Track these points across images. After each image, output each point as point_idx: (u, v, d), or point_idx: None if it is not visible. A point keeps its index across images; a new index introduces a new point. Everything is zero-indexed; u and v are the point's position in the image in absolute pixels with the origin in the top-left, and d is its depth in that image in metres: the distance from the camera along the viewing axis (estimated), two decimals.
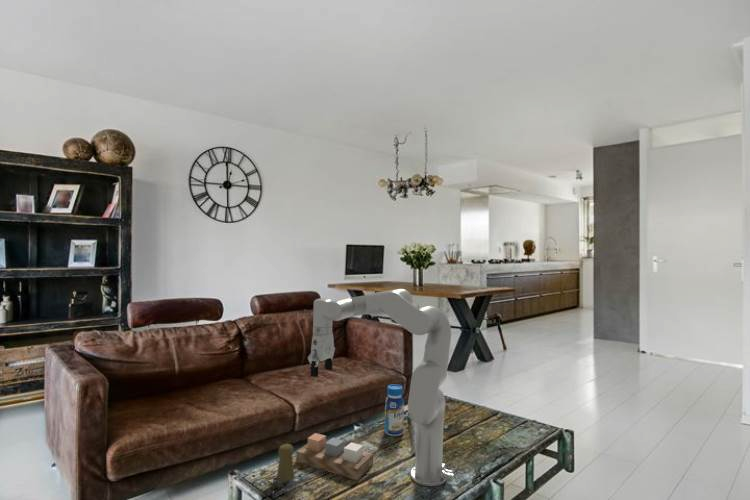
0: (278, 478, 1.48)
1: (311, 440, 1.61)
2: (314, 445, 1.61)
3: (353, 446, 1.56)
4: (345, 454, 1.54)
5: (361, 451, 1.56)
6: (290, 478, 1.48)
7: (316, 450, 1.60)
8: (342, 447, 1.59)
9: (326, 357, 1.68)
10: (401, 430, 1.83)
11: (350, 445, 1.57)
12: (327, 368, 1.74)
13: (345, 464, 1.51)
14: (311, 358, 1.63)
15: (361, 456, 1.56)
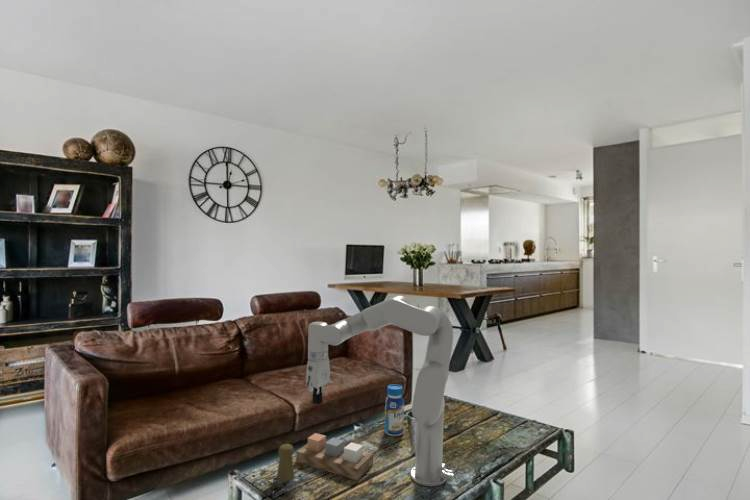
0: (278, 478, 1.48)
1: (311, 440, 1.61)
2: (314, 445, 1.61)
3: (353, 446, 1.56)
4: (345, 454, 1.54)
5: (361, 451, 1.56)
6: (290, 478, 1.48)
7: (316, 450, 1.60)
8: (342, 447, 1.59)
9: (322, 383, 1.60)
10: (401, 430, 1.83)
11: (350, 445, 1.57)
12: None
13: (345, 464, 1.51)
14: (311, 389, 1.58)
15: (361, 456, 1.56)
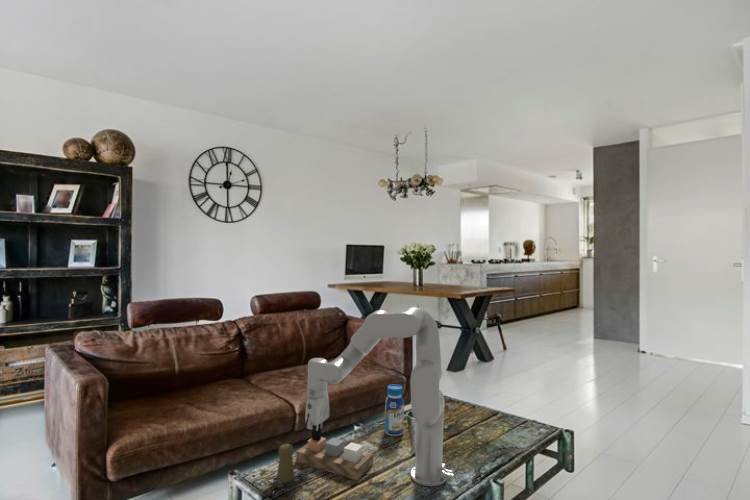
0: (278, 478, 1.48)
1: (311, 443, 1.61)
2: (314, 448, 1.61)
3: (353, 446, 1.56)
4: (345, 454, 1.54)
5: (361, 451, 1.56)
6: (290, 478, 1.48)
7: None
8: (342, 447, 1.59)
9: (321, 420, 1.61)
10: (401, 430, 1.83)
11: (350, 445, 1.57)
12: None
13: (345, 464, 1.51)
14: (311, 427, 1.59)
15: (361, 456, 1.56)
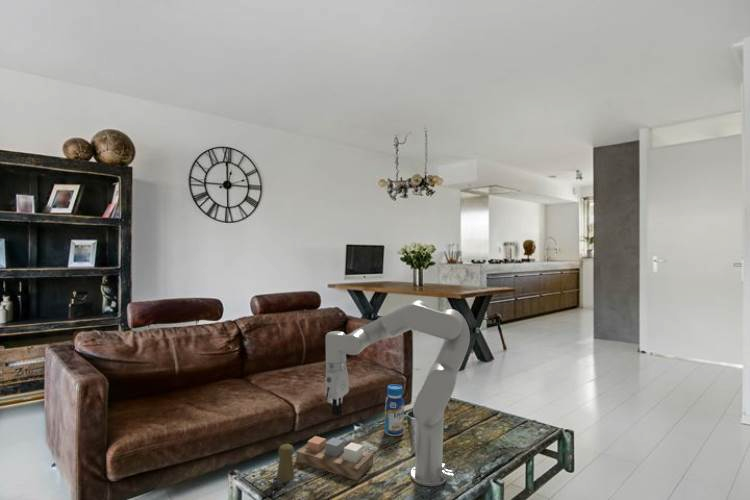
0: (278, 478, 1.48)
1: (311, 443, 1.61)
2: (314, 448, 1.61)
3: (353, 446, 1.56)
4: (345, 454, 1.54)
5: (361, 451, 1.56)
6: (290, 478, 1.48)
7: None
8: (342, 447, 1.59)
9: (341, 394, 1.57)
10: (401, 430, 1.83)
11: (350, 445, 1.57)
12: None
13: (345, 464, 1.51)
14: (331, 401, 1.55)
15: (361, 456, 1.56)
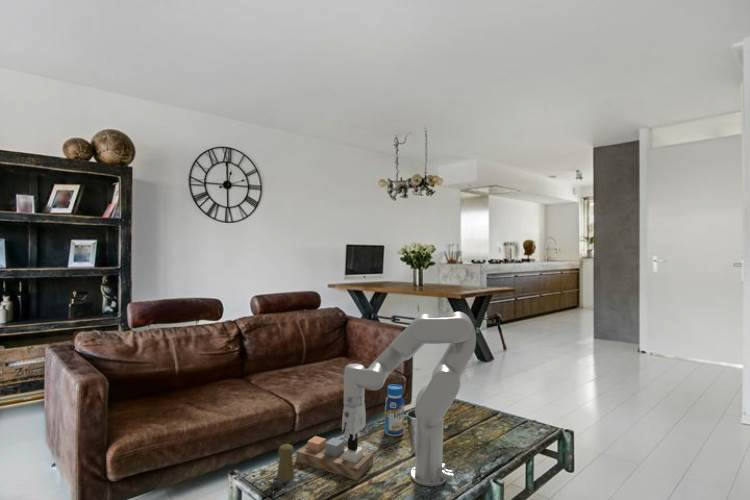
0: (278, 478, 1.48)
1: (311, 443, 1.61)
2: (314, 448, 1.61)
3: None
4: (345, 456, 1.54)
5: (361, 453, 1.56)
6: (290, 478, 1.48)
7: None
8: (342, 447, 1.59)
9: (358, 429, 1.53)
10: (401, 430, 1.83)
11: None
12: None
13: (345, 464, 1.51)
14: (348, 436, 1.51)
15: (361, 458, 1.56)
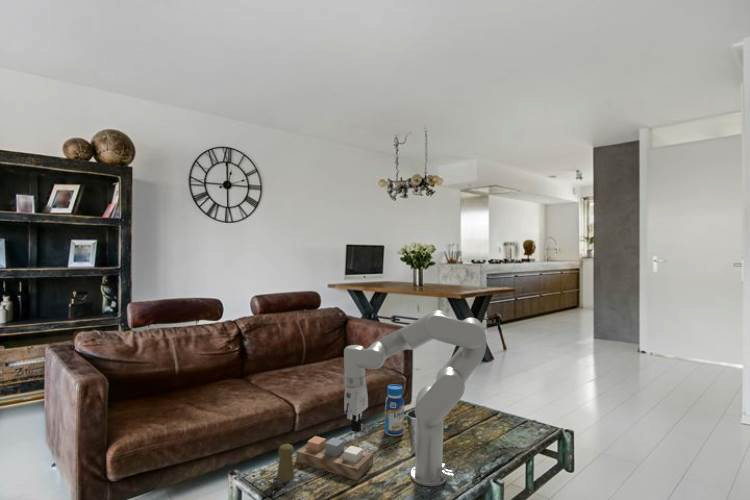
0: (278, 478, 1.48)
1: (311, 443, 1.61)
2: (314, 448, 1.61)
3: (353, 449, 1.56)
4: (345, 457, 1.54)
5: (361, 454, 1.56)
6: (290, 478, 1.48)
7: None
8: (342, 447, 1.59)
9: (361, 410, 1.53)
10: (401, 430, 1.83)
11: (350, 448, 1.57)
12: None
13: (345, 464, 1.51)
14: (351, 417, 1.51)
15: None
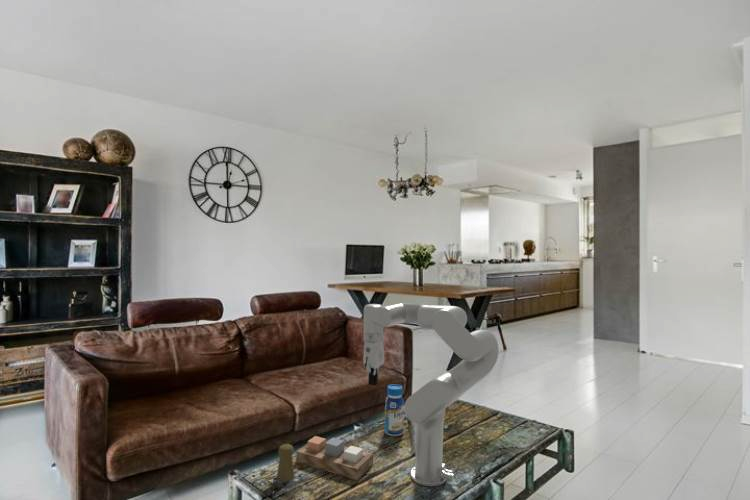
0: (278, 478, 1.48)
1: (311, 443, 1.61)
2: (314, 448, 1.61)
3: (353, 449, 1.56)
4: (345, 457, 1.54)
5: (361, 454, 1.56)
6: (290, 478, 1.48)
7: None
8: (342, 447, 1.59)
9: (378, 364, 1.63)
10: (401, 430, 1.83)
11: (350, 448, 1.57)
12: None
13: (345, 464, 1.51)
14: (369, 370, 1.60)
15: None
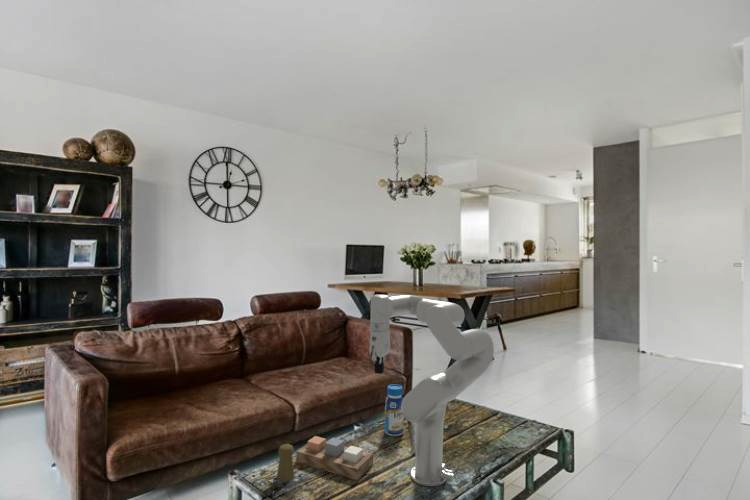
0: (278, 478, 1.48)
1: (311, 443, 1.61)
2: (314, 448, 1.61)
3: (353, 449, 1.56)
4: (345, 457, 1.54)
5: (361, 454, 1.56)
6: (290, 478, 1.48)
7: None
8: (342, 447, 1.59)
9: (384, 353, 1.66)
10: (401, 430, 1.83)
11: (350, 448, 1.57)
12: None
13: (345, 464, 1.51)
14: (375, 359, 1.64)
15: None
